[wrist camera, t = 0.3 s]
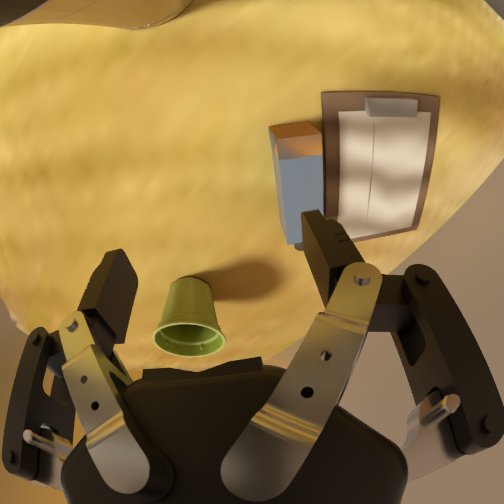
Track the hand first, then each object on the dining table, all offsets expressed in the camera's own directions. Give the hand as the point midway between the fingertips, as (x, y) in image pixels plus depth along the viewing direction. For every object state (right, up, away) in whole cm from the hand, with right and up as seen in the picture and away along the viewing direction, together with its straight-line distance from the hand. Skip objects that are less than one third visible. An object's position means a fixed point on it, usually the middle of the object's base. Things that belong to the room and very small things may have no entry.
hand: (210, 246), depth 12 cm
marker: (+6, +7, +17) cm, 20 cm away
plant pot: (-7, -6, +27) cm, 29 cm away
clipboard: (+17, +9, +17) cm, 26 cm away
